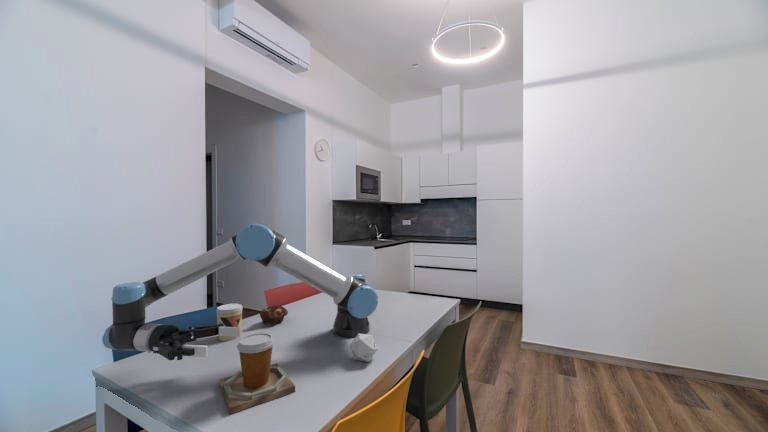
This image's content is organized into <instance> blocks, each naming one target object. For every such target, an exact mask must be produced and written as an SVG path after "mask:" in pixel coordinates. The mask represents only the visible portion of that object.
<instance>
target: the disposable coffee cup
mask: <svg viewBox="0 0 768 432" xmlns="http://www.w3.org/2000/svg"><path fill="white" fill-rule="evenodd" d="M274 344H275V338H274V336H273V334H271V333H268V332H267V333H266V332H257V333H252V334H251V333H250V334H247V335H245V336H242V337H241V338H239V341H238V343H237V345H236V346H237V347H236V348H237V350H238V353H239V354H238V355H239V359H240V360H239V361H240V368H241V371H242V375H243V383H244V387H246V388H258V387H261V386H263V385H265V384H266V383H267V382H268V380H269V371H270V365H271V362H272V354H273V347H274Z"/></svg>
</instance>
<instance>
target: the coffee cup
mask: <svg viewBox="0 0 768 432" xmlns="http://www.w3.org/2000/svg"><path fill="white" fill-rule="evenodd" d="M243 309H244V307H243V305H242V304H241V303H228V304H227V303H226V304H221V305H220V306H217V308H216V310H215V312H216V321H217V324H219V323H222V324H224V327H240V336H239V337H227V336H219V335H217V336H218V340H219V341H223V342H226V341H227V342H228V341H229V342H230V341H234V340H236V339H238V338H240V337H241V332H242V321H243V320H242V319H243Z"/></svg>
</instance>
